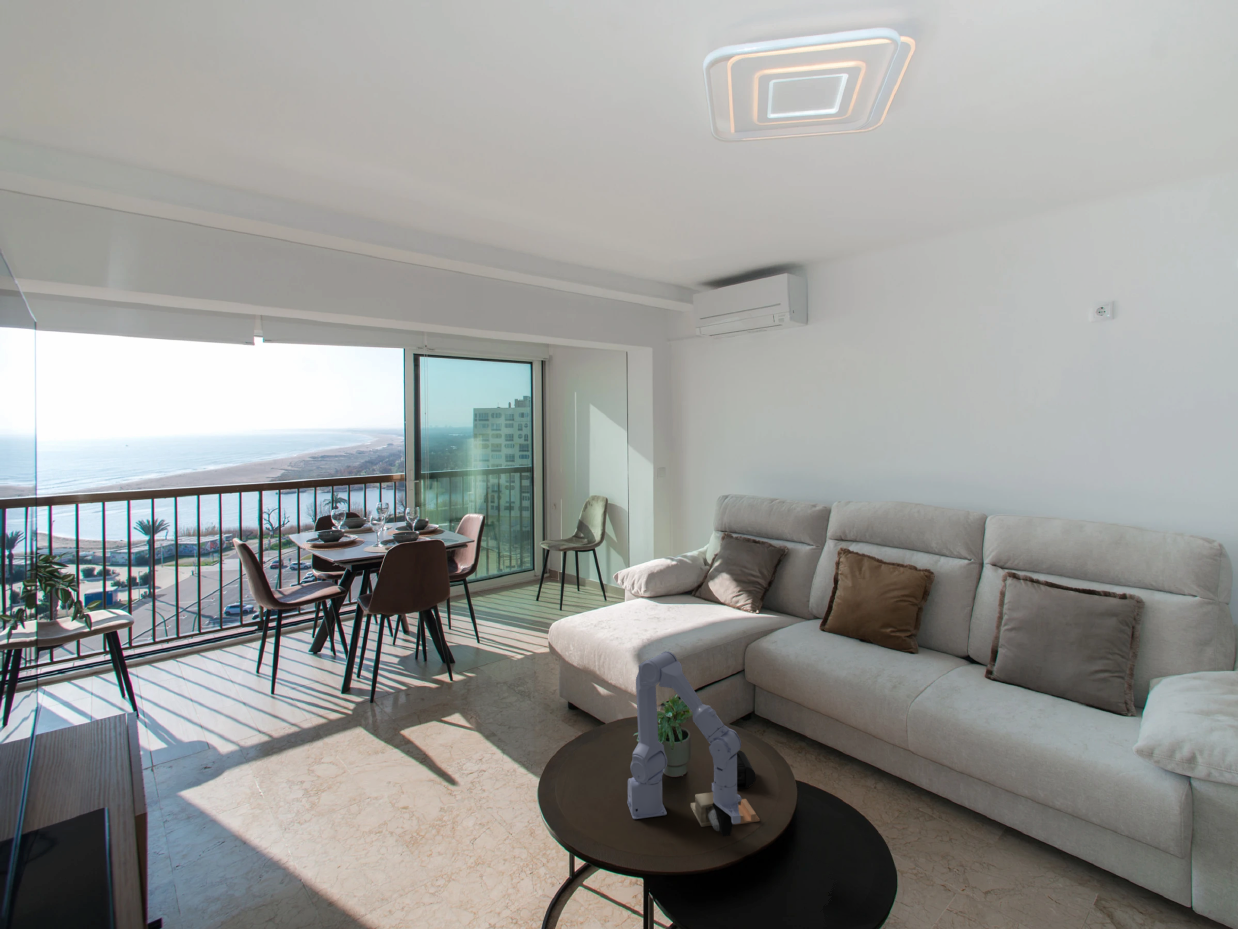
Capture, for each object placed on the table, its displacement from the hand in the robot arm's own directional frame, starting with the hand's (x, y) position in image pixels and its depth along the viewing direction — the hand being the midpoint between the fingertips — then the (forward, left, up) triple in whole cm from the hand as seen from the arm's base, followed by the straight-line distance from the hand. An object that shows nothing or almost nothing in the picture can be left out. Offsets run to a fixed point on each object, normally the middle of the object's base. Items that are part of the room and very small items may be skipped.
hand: (725, 834), depth 150 cm
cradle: (+9, +11, -3) cm, 14 cm away
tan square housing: (0, +13, -3) cm, 13 cm away
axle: (0, +9, 0) cm, 9 cm away
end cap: (+15, +27, -3) cm, 31 cm away
